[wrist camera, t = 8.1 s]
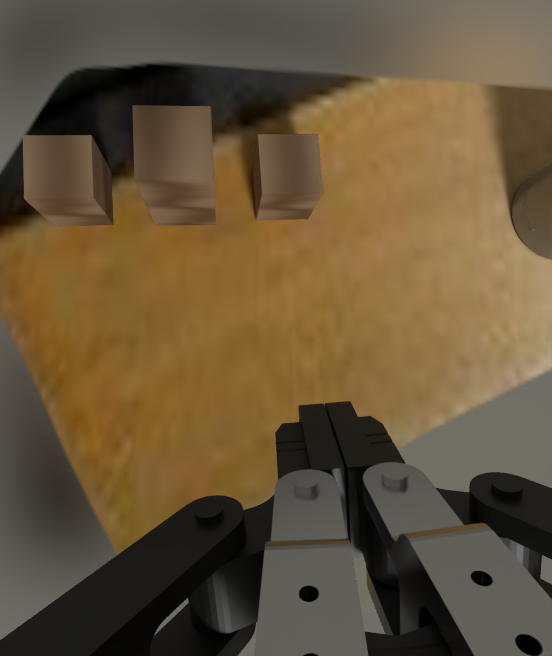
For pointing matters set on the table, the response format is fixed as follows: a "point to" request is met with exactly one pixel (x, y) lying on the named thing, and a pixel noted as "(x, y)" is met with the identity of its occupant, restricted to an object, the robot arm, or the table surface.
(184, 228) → the table surface
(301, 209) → the block one
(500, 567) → the robot arm
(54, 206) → the block seven
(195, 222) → the plain pillar
